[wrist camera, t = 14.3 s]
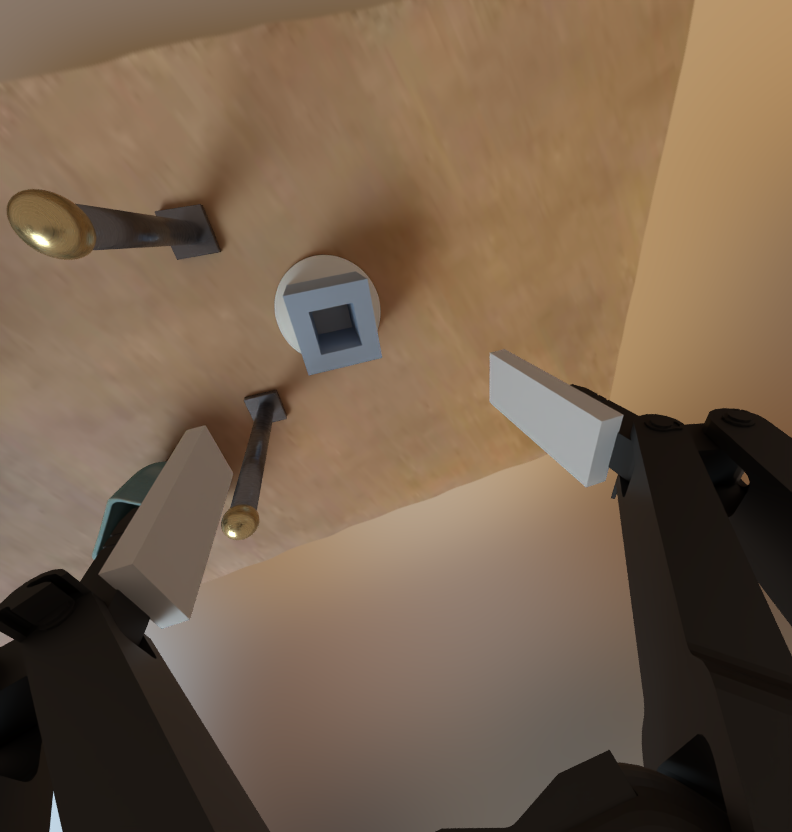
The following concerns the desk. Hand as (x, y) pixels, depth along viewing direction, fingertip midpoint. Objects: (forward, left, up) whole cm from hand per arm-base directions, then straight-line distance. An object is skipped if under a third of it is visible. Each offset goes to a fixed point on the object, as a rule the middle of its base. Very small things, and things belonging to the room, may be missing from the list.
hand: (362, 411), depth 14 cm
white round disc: (0, 0, -23) cm, 23 cm away
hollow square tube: (0, 0, -22) cm, 22 cm away
